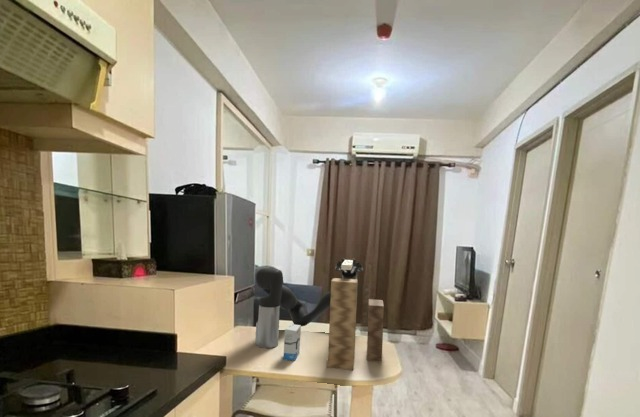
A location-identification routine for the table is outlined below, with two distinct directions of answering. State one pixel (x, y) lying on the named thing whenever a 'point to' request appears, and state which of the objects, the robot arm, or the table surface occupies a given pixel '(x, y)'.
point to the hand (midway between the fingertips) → (348, 260)
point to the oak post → (342, 323)
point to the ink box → (292, 342)
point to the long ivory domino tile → (347, 265)
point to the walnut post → (375, 330)
